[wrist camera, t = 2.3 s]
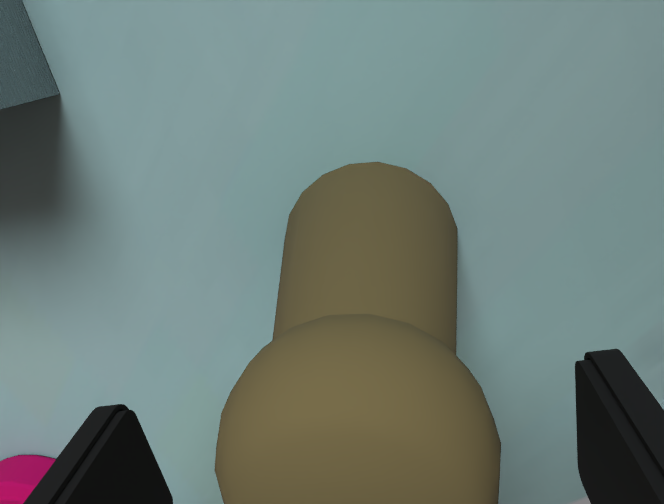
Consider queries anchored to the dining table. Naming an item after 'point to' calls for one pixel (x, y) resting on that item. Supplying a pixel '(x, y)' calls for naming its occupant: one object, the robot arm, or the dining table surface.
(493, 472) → the cork
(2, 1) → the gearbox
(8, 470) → the pepper mill
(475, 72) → the dining table surface
